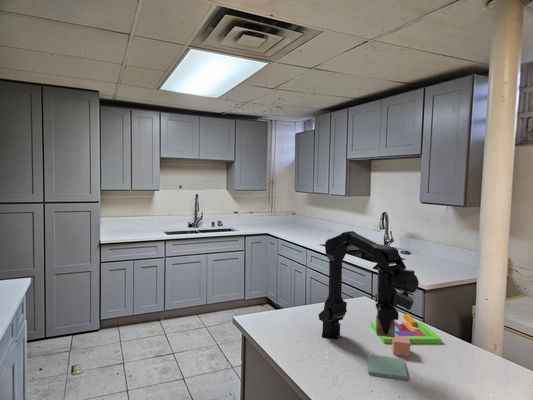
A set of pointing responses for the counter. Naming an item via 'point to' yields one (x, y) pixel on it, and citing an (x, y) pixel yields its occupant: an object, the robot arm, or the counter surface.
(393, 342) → the salmon pink brick
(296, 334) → the counter surface
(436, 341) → the green block puzzle board
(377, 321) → the walnut brick
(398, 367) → the base plate
